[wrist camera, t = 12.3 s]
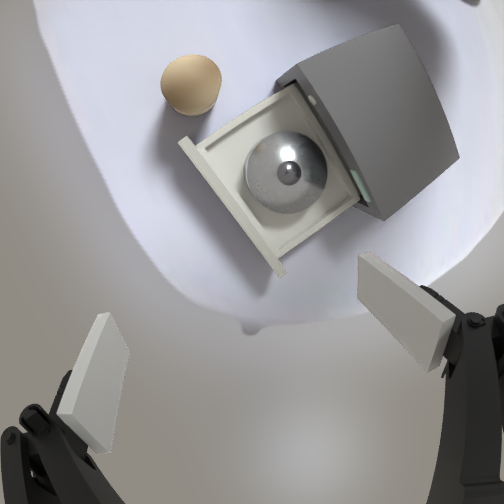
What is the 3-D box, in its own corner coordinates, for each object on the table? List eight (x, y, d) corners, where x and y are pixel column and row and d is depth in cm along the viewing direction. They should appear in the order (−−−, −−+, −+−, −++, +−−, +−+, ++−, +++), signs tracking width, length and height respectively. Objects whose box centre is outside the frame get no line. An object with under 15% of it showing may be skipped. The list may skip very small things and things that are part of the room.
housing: (365, 38, 24) (398, 23, 18) (423, 151, 31) (459, 157, 24) (274, 81, 25) (294, 64, 19) (349, 206, 32) (382, 222, 26)
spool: (159, 90, 24) (149, 77, 18) (200, 63, 23) (199, 44, 18) (186, 126, 26) (182, 121, 20) (227, 98, 25) (233, 87, 20)
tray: (290, 73, 25) (302, 64, 21) (363, 197, 31) (380, 204, 28) (180, 142, 26) (177, 142, 22) (271, 263, 33) (279, 278, 29)
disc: (295, 118, 25) (302, 116, 24) (331, 183, 29) (340, 186, 27) (228, 159, 26) (230, 159, 24) (270, 223, 29) (275, 229, 27)
